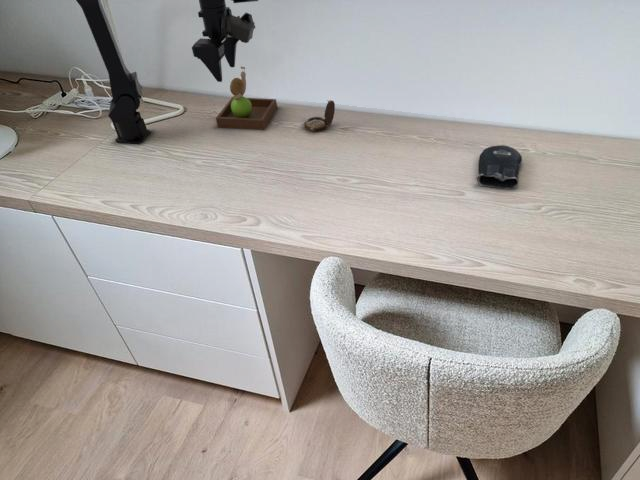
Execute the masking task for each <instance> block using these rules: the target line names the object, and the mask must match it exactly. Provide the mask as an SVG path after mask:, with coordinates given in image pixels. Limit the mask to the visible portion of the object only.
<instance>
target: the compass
mask: <svg viewBox="0 0 640 480" xmlns="http://www.w3.org/2000/svg"><path fill="white" fill-rule="evenodd" d="M326 102H327V104H326V106H325V110H324V115H323V117H321V116H313V117H310V118H308V119H307V120H305V121H304V128H305V129H306V132H308V133H310V132H311V133H314V132H320V131H324V130H325V129H327V128H328V127H329V126H331V124H332V122H333V120H334V116H335V111H336V104H335V101H334V100H332V99H331V100H326Z"/></svg>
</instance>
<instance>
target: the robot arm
mask: <svg viewBox="0 0 640 480" xmlns="http://www.w3.org/2000/svg"><path fill="white" fill-rule="evenodd" d="M75 1H76V2H77V4H78V5H79V6H80V8H81V10H82V13H83V15H84V17H85V19H86V22H87V24H88V27H89V29H90V32H91V34H92V37H93V40H94V41H95V44H96V46H97V49H98V51H99V54H100V56H101V59H102V61H103V64H104V67H105V69H106V72H107V74H108V79H109V87H110V92H111V97H112V98H111V100H110V103H109V110H108V116H107V117H108V118H109V119H110V120H111V122H112V125H113V128H114V129H115V132H116V135H117V137H116V138H115V139H114V141H115V143H121V144H138V145H139V144H140V143H141V142H142V141H143V140H145V138H146V137H147V136H148V135H149V134H150V133H151V130H150V129H148V128H147V126H146V122H145V120H144V118H143V117H142V116H141V115H142V114H141V112H140V111H138V109H139V107H140V106H141V99H142V98H143V86H142V85H141V84H140V82H139V78H138V73H137V71H134V72H130V70H129V69H128V68H127V66H126V64H125V61H124V59H123V57H122V54H121V51H120V48H119V46H118V43H117V41H116V38H115V35H114V33H113V30H112V27H111V25H110V23H109V18H108V16H107V14H106V11H105V9H104V6H103V3H102V1H101V0H75ZM230 1H232V2H233V4H241V3H252V2H253V3H255V2H259V0H230ZM198 3H199V8H200V10H199V11H198V12H197V16H198V18H201V19H202V22H203V27H204V29H203V30H202V32H201V33H202V37H204V38H201V37H200V38H199V39H197V41H196V42H195V43H194V44H193V45H192V46H191V50H192V56H193V57H194V58H196V59H198V60H200V61H201V62H202V63H203V65H204V66H205V67H206V68H207V70H208V71H209V72H210V73H211V75H212V76H213V78H214V80H216V82H218V83H222V82H223V70H222V59H223V58H225V59H226V62H227V63H228V66H229V67H230V68H235V67H236V57H237V56H236V54H237V45H238V42H239V41H240V42H242V43H244V44H247V43H249V42H250V40H252V39H253V35H254V30H255V29H256V25H255V24H256V23H255V22H254V19H253V15H252V14H251V13H249V12H245V13H243V15H242V16H240V15H237V16H235V15H233V13H232V9H231V8H230V6H227V4H226V0H198ZM205 37H206V38H205Z"/></svg>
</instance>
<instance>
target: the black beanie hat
mask: <svg viewBox="0 0 640 480" xmlns="http://www.w3.org/2000/svg"><path fill="white" fill-rule="evenodd" d="M522 159H523V157H522V153H520V152H519V151H518V150H517V149H516V148H514V147H512V146H509V145H504V144H498V145H497V144H496V145H492V146H488V147H486V148H484V149H483V150H482V152H481V153H480V154H479V158H478V170H477V171H478V174H477V176H476V177H475V179H476V182H477V185H478V187H490V188H496V189H502V190H510V189H513V188H515V187H516V186H518V185H519V182H518V178H519V177H518V176H519V170H520V165H521V163H522V161H523V160H522Z"/></svg>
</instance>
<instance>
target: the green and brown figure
mask: <svg viewBox="0 0 640 480" xmlns="http://www.w3.org/2000/svg"><path fill="white" fill-rule="evenodd" d="M240 69H241V72H240V74H239V75H240V77H234V78H233V79H232V80H231V81H230V84H229V90H230V93H231V94H232V95H233V96H232V97H233V98H234V99H233V101H232V103H231V110H232V112H233V113H234V115H236V116H237V117H239V118H245V117H247V116H249V115H250V114H251V112H252V104H251V102H250V101H249V99H247V98H248V97H246V96H244V95H245V93H246V90H247V79H246V77H247V74H246V72H245V70H246V67H245V66H240Z"/></svg>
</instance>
